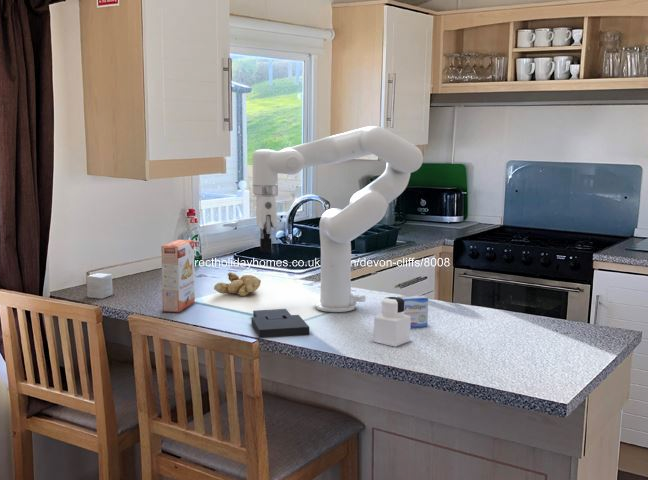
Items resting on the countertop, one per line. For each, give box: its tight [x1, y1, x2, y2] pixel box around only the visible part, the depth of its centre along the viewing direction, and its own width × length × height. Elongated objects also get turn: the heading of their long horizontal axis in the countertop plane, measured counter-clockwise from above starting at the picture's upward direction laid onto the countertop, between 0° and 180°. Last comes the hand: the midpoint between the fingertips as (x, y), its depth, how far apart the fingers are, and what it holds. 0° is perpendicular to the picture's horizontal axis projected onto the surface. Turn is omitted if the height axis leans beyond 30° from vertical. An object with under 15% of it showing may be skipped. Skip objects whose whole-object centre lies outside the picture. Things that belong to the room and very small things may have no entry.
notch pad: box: [251, 314, 310, 339], centre depth 216 cm, size 14×14×2 cm
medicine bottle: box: [373, 296, 411, 348], centre depth 203 cm, size 7×7×12 cm
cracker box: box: [160, 239, 196, 313], centre depth 240 cm, size 14×6×21 cm, turn 168°
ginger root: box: [213, 271, 262, 297], centre depth 262 cm, size 16×16×8 cm
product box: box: [86, 272, 114, 300], centre depth 256 cm, size 6×6×7 cm
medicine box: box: [398, 294, 429, 329], centre depth 220 cm, size 8×4×9 cm, turn 106°
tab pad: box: [252, 308, 292, 320], centre depth 225 cm, size 10×11×2 cm
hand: (265, 250), depth 234 cm, fingers closed
